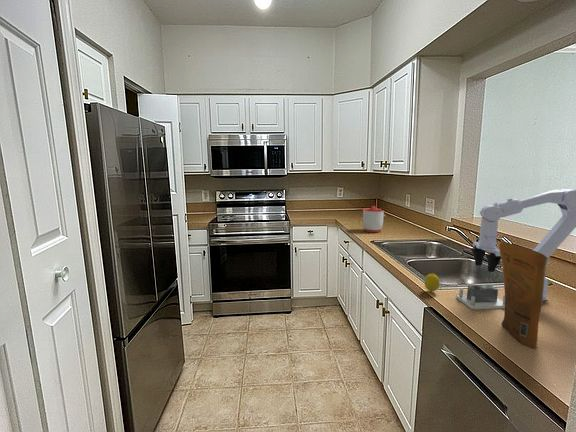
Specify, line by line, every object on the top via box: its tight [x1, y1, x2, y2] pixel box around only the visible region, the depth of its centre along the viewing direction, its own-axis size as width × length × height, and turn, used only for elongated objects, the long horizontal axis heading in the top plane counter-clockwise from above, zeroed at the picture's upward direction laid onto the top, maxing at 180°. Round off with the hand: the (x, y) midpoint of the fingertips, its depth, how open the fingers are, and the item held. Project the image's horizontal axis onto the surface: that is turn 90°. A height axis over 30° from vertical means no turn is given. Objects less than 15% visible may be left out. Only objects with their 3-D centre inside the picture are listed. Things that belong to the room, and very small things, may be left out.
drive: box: [466, 284, 499, 303], centre depth 120 cm, size 9×4×5 cm, turn 93°
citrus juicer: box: [362, 205, 387, 233], centre depth 243 cm, size 16×17×20 cm
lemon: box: [424, 272, 440, 293], centre depth 130 cm, size 6×6×8 cm
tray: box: [456, 288, 505, 310], centre depth 120 cm, size 14×10×4 cm
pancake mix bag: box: [498, 240, 549, 349], centre depth 96 cm, size 7×19×28 cm, turn 173°
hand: (484, 268), depth 129 cm, fingers open, 7 cm apart
